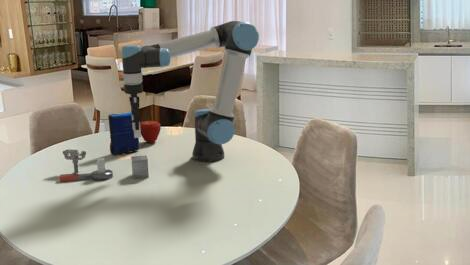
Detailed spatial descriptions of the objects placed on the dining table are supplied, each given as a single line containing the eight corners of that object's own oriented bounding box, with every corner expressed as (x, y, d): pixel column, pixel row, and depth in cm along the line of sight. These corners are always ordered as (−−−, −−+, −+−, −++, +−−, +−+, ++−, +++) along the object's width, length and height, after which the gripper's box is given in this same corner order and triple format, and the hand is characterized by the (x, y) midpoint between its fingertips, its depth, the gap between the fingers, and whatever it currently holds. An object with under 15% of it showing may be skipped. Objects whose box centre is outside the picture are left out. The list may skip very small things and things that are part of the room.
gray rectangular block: (147, 173, 244) (146, 155, 242) (148, 177, 238) (147, 159, 236) (132, 174, 242) (131, 156, 240) (133, 178, 236) (132, 160, 234)
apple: (137, 144, 290) (135, 122, 287) (143, 139, 300) (142, 117, 297) (157, 145, 288) (156, 122, 285) (163, 140, 298) (162, 117, 295)
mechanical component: (85, 174, 244) (83, 151, 242) (63, 173, 246) (61, 151, 244) (88, 171, 247) (86, 150, 244) (67, 171, 249) (65, 149, 246)
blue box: (112, 156, 270) (109, 115, 265) (108, 154, 274) (105, 113, 269) (140, 151, 277) (138, 111, 272) (136, 149, 282) (133, 110, 277)
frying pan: (112, 173, 245) (111, 155, 243) (113, 179, 236) (111, 161, 234) (61, 177, 240) (59, 159, 238) (59, 184, 231) (57, 165, 229)
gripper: (123, 79, 242) (126, 127, 247) (125, 88, 218) (128, 141, 223) (140, 78, 243) (143, 126, 248) (144, 87, 219) (148, 140, 225)
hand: (136, 133), depth 236 cm, fingers open, 13 cm apart
